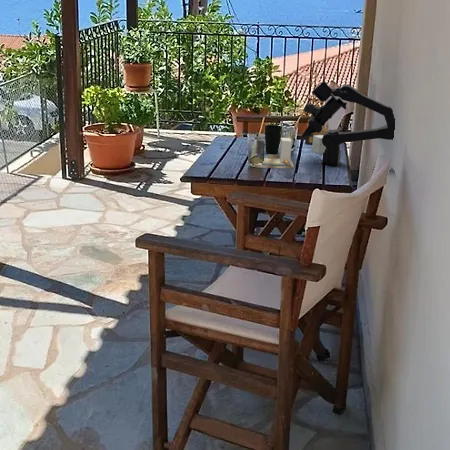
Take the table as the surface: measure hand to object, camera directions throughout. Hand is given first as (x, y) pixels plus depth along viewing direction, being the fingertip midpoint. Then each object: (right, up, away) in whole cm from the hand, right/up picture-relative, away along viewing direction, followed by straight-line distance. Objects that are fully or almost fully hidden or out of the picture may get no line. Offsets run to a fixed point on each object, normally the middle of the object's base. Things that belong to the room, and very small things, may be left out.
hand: (302, 136), depth 270 cm
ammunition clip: (+11, 0, +35) cm, 36 cm away
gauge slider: (-8, -11, -3) cm, 14 cm away
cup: (-12, -5, +16) cm, 21 cm away
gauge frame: (-13, -12, -3) cm, 18 cm away
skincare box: (+11, -4, +22) cm, 25 cm away
